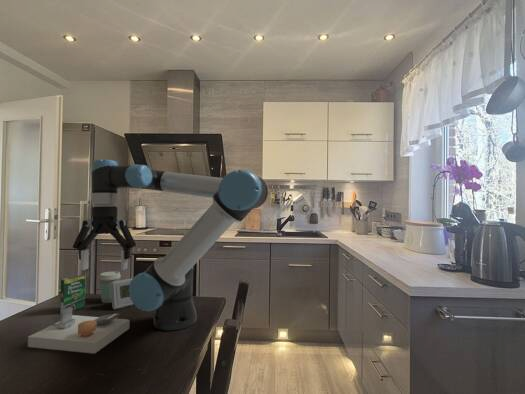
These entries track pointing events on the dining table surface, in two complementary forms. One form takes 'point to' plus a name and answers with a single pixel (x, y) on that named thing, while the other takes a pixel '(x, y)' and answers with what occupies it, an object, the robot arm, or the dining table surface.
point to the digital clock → (121, 294)
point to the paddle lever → (66, 318)
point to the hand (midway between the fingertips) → (104, 269)
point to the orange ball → (87, 328)
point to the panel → (78, 336)
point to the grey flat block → (106, 318)
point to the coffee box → (73, 292)
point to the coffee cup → (107, 285)
